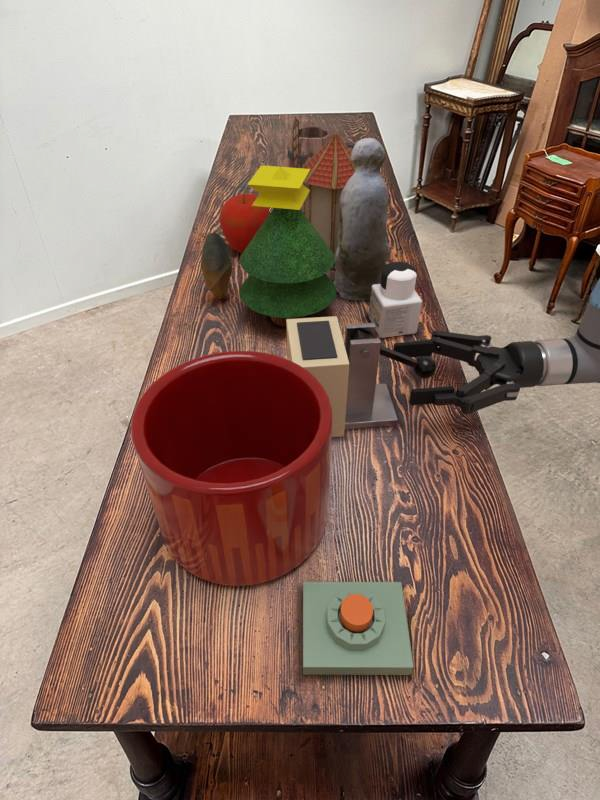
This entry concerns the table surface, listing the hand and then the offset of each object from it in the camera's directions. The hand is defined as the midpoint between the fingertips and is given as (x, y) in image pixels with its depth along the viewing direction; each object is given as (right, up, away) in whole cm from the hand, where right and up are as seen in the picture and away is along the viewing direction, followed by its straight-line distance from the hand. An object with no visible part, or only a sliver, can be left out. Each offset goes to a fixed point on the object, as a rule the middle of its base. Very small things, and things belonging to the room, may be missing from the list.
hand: (401, 372), depth 86 cm
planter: (-24, -21, -11) cm, 33 cm away
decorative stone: (-33, +17, +30) cm, 48 cm away
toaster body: (-14, -6, +4) cm, 16 cm away
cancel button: (-10, -29, -25) cm, 40 cm away
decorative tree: (-19, +13, +25) cm, 34 cm away
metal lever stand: (-7, -6, +5) cm, 10 cm away
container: (+2, +11, +22) cm, 25 cm away
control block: (-10, -32, -23) cm, 40 cm away
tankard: (-10, +48, +63) cm, 80 cm away
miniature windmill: (-10, +32, +45) cm, 57 cm away
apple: (-29, +32, +46) cm, 63 cm away
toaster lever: (-2, +1, -2) cm, 3 cm away
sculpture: (-3, +20, +33) cm, 39 cm away
